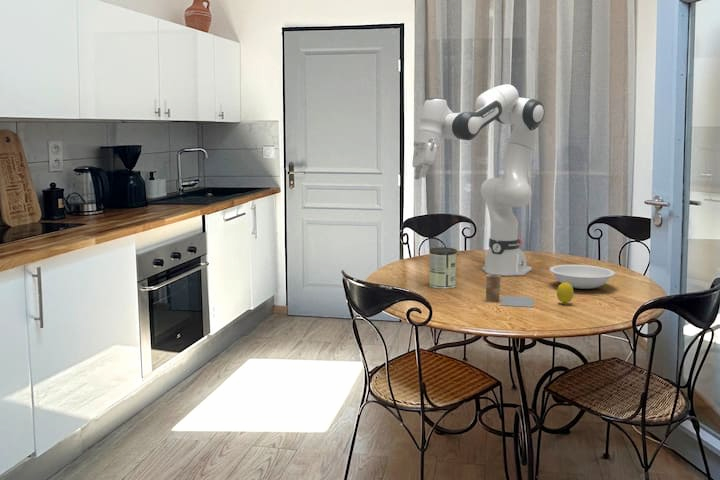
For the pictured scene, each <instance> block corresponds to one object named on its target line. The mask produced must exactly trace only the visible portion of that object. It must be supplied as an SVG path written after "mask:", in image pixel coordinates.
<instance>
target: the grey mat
mask: <svg viewBox="0 0 720 480" xmlns="http://www.w3.org/2000/svg"><path fill="white" fill-rule="evenodd" d="M500 300H501V301H500V305H499V306H501V307H502V306H503V307H518V308H519V307H521V308H534V297H532V296H531V297H530V296H519V295H518V296H512V295H501V298H500Z"/></svg>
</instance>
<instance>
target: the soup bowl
mask: <svg viewBox="0 0 720 480" xmlns="http://www.w3.org/2000/svg"><path fill="white" fill-rule="evenodd" d="M549 272H551V273H552V274H553V275H554V278H555V279H556V280H557V281H558V282H560V284H562V283H564V282H567V283H569V284H570V285H571V286H572V288H573V289H581V290H582V289H583V290H584V289H585V290H586V289H587V290H588V289H597V288H599V287H601V286H603V285H605V284H606V283H607V282H608V281H609V280H610V279H611V278H612V277H614V276H616V271H614V270H612V269H609V268H607V267H601V266H595V265H588V264H560V265H559V264H558V265H553V266H551V267H549Z"/></svg>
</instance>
